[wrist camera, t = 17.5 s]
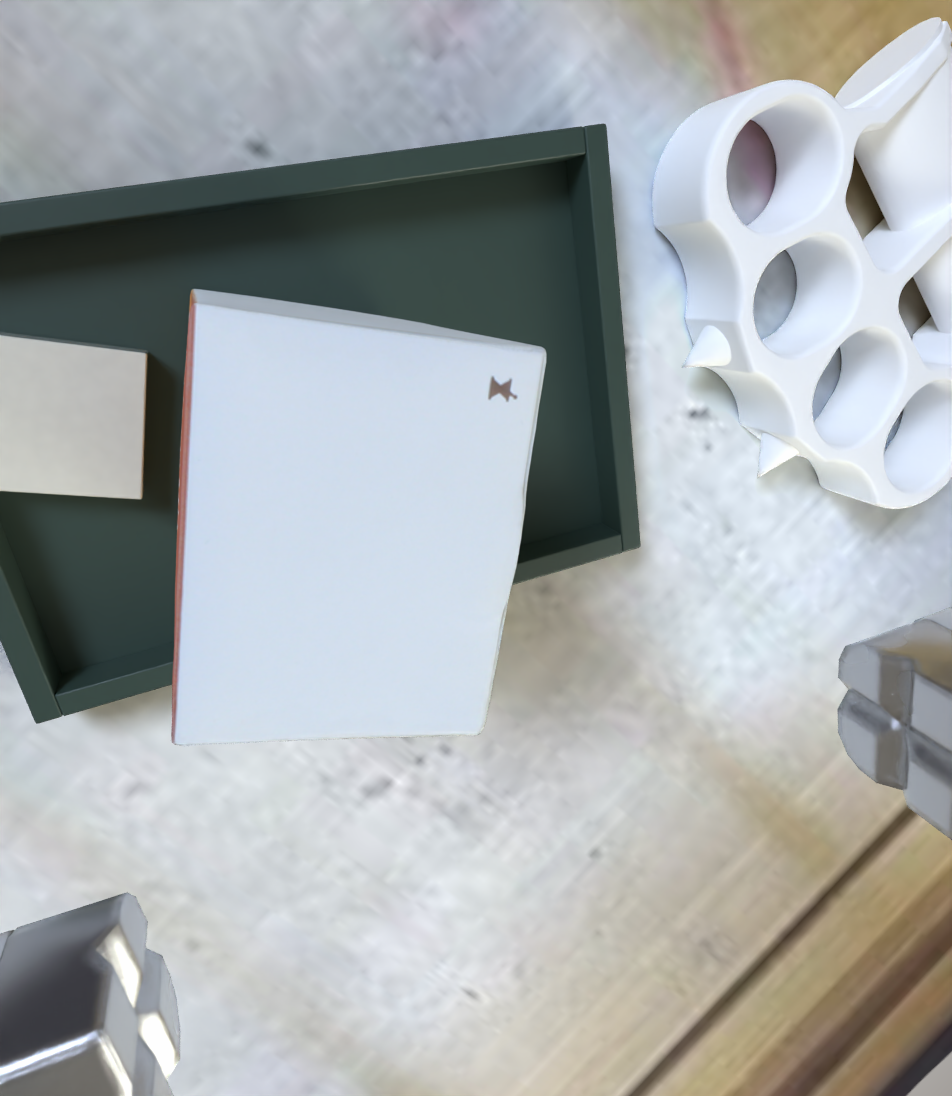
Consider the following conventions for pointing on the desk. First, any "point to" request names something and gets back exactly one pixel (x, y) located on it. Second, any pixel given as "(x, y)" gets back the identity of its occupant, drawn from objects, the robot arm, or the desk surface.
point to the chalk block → (72, 417)
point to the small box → (344, 521)
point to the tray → (323, 280)
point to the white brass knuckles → (830, 267)
